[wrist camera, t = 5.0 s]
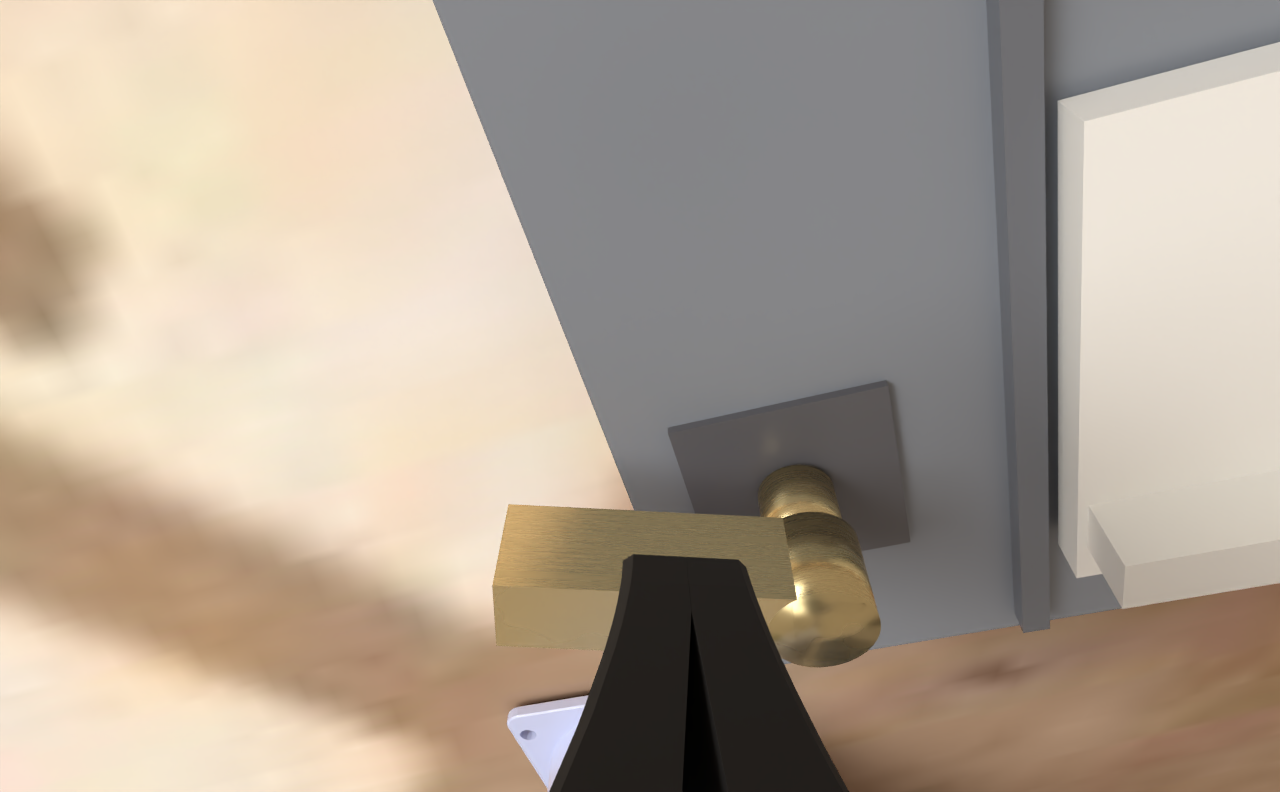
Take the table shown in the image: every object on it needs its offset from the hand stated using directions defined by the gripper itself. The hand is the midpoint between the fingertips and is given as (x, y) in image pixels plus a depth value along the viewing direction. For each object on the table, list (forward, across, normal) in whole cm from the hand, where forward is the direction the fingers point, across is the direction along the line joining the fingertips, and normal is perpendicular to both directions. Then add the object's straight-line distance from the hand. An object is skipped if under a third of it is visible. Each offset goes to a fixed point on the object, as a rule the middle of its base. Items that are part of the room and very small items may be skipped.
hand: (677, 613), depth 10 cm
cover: (+7, -10, -1) cm, 12 cm away
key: (+7, -1, +4) cm, 8 cm away
